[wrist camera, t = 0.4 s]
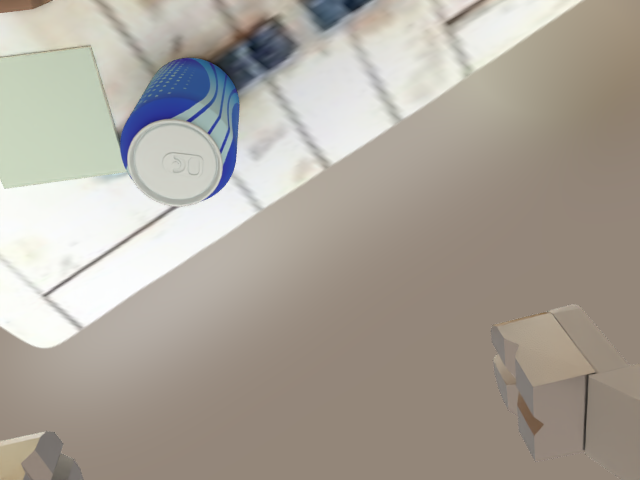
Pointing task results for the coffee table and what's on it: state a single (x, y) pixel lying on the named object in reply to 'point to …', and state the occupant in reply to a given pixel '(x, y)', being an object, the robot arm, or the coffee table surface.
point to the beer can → (183, 133)
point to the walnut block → (20, 5)
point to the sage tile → (55, 119)
